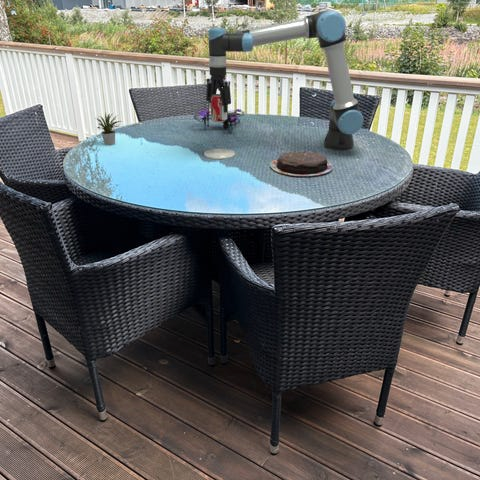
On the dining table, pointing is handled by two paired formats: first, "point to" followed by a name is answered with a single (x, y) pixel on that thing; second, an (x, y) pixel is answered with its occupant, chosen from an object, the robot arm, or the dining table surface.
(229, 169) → the dining table surface
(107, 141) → the house plant
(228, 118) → the drone
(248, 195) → the dining table surface
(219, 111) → the soda can
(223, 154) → the coaster
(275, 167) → the chocolate cake
